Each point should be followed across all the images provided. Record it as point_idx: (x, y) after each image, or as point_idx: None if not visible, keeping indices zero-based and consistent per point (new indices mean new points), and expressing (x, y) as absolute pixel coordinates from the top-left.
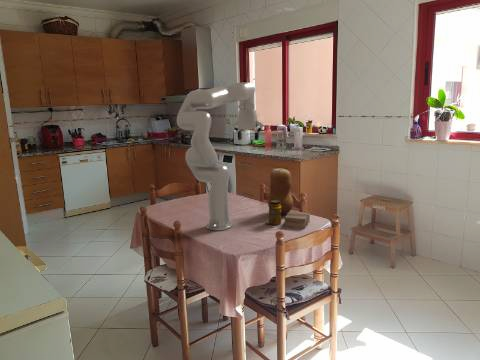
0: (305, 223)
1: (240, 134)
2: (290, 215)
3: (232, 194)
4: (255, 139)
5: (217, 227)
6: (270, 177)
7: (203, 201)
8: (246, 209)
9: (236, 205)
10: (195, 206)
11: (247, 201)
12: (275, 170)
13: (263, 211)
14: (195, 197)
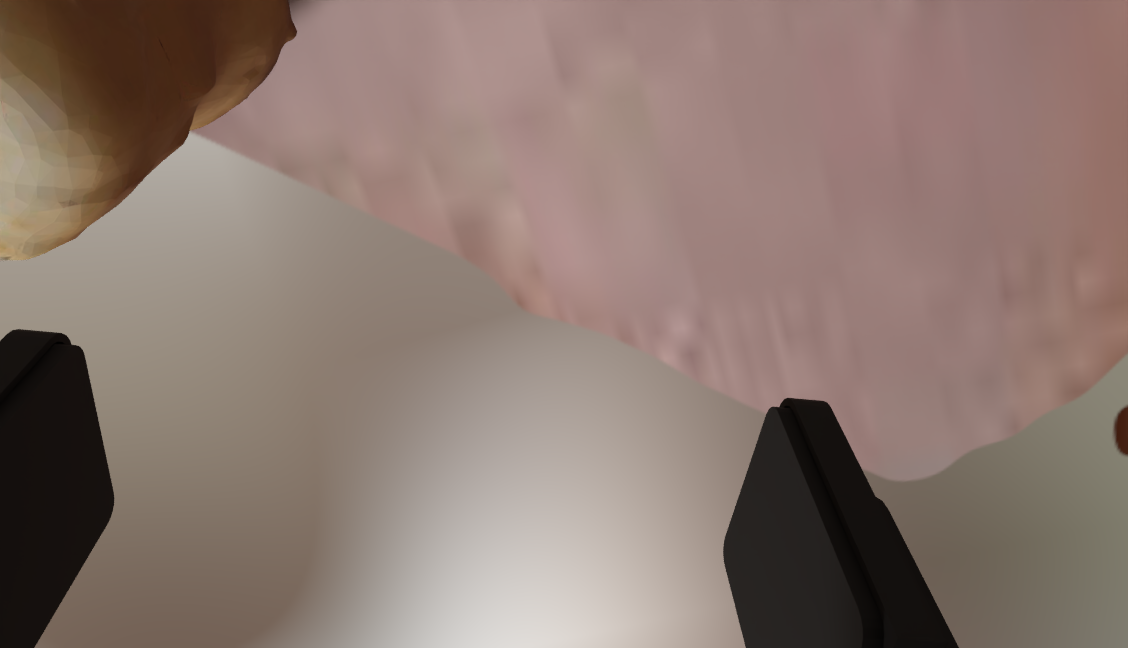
0: None
1: (800, 640)
2: None
3: None
4: (20, 345)
5: None
6: (98, 1)
7: (1033, 201)
8: (562, 39)
9: (692, 145)
10: (1097, 25)
11: (623, 281)
12: None
13: (378, 10)
14: (1123, 301)
